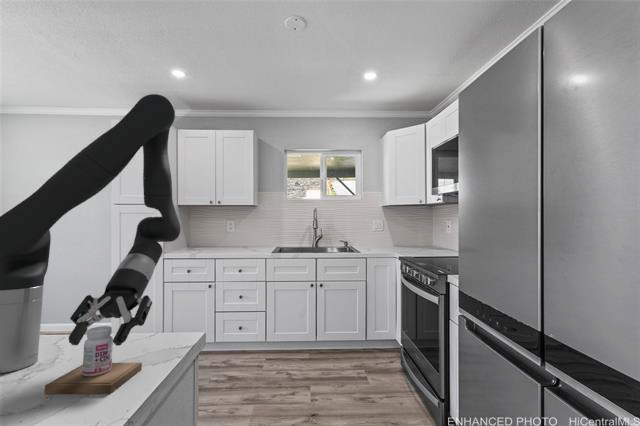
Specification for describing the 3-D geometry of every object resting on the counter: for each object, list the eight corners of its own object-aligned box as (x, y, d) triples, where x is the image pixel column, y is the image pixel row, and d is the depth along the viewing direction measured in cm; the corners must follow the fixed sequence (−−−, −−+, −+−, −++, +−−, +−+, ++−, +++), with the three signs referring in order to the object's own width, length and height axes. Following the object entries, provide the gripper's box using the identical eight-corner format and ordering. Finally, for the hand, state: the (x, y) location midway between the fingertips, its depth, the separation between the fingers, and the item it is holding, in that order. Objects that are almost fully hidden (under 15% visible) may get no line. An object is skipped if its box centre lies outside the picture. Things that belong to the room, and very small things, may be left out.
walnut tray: (44, 393, 56) (45, 384, 56) (85, 369, 66) (85, 362, 66) (110, 393, 56) (111, 384, 56) (141, 369, 66) (141, 361, 66)
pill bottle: (96, 378, 58) (98, 333, 59) (75, 376, 59) (78, 331, 60) (117, 367, 63) (119, 325, 64) (97, 365, 64) (100, 324, 65)
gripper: (94, 266, 70) (47, 334, 57) (157, 267, 70) (123, 334, 58) (108, 286, 75) (67, 352, 62) (167, 286, 75) (138, 352, 63)
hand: (94, 343), depth 60 cm, fingers open, 8 cm apart
